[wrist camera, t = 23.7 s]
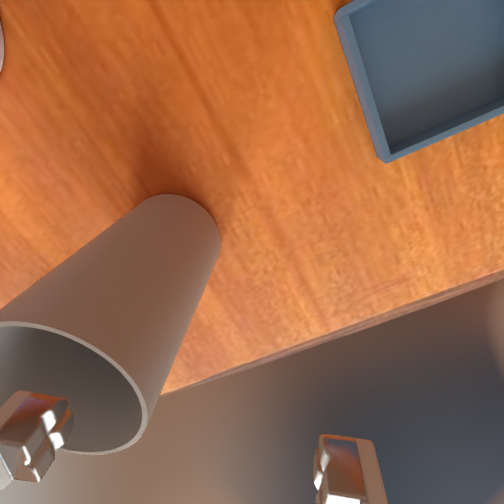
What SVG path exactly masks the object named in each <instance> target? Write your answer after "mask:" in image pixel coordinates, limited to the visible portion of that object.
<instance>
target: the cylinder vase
mask: <svg viewBox="0 0 504 504" xmlns="http://www.w3.org/2000/svg"><path fill="white" fill-rule="evenodd" d="M220 246H221V240H220V234H219V230H218V228H217V225H216V223H215V221H214V220H213V218H212V217H211V215H210V214H209V213H208V212H207V211H206V210H205V209H204V208H203V207H202V206H201V205H199V204H198V203H196V202H195V201H193V200H191V199H189V198H186V197H184V196H180V195H175V194H160V195H156V196H152V197H150V198H148V199H146V200H144V201H143V202H141V203H140V204H139V205H137V206H136V207H135V208H133V209H132V210H131V211H130V212H128V213H127V214H126V215H124V216H123V217H122V218H120V219H119V220H118V221H116V222H115V223H114V224H112V225H111V226H110V227H108V228H107V229H106V230H104V231H103V232H102V233H100V234H99V235H98V236H97V237H95V238H94V239H93V240H91V241H90V242H89V243H87V244H86V245H85V246H83V247H82V248H81V249H79V250H78V251H77V252H75V253H74V254H73V255H71V256H70V257H69V258H67V259H66V260H65V261H64V262H62V263H61V264H60V265H58V266H57V267H56V268H54V269H53V270H52V271H50V272H49V273H48V274H46V275H45V276H44V277H42V278H41V279H40V280H38V281H37V282H36V283H35V284H33V285H32V286H31V287H29V288H28V289H27V290H25V291H24V292H23V293H21V294H20V295H19V296H17V297H16V298H15V299H13V300H12V301H11V302H9V303H8V304H7V305H5V306H4V307H3V308H2V309H0V408H1V406H2V405H3V404H4V403H5V402H6V401H7V400H8V399H9V398H10V397H11V396H12V395H13V394H14V393H16V392H17V391H19V390H21V391H29V392H36V393H41V394H48V395H55V396H61V397H67V399H68V401H69V405H68V407H67V409H68V410H70V411H71V412H72V414H73V417H74V423H73V427H72V430H71V433H70V435H69V437H68V439H67V440H66V442H65V444H64V445H62V446H61V447H60V448H58V449H57V450H59V451H63V452H68V453H74V454H83V455H100V454H101V455H102V454H109V453H114V452H118V451H121V450H123V449H125V448H128V447H129V446H131V445H132V444H134V443H135V442H136V441H137V440H138V439H139V438H140V437H141V436H142V434H143V433H144V431H145V428H146V426H147V423H148V421H149V419H150V416H151V414H152V412H153V409H154V407H155V405H156V402H157V400H158V398H159V395H160V393H161V391H162V388H163V386H164V383H165V381H166V379H167V376H168V374H169V372H170V369H171V367H172V365H173V362H174V360H175V358H176V355H177V353H178V350H179V348H180V346H181V343H182V341H183V339H184V336H185V334H186V332H187V329H188V327H189V325H190V322H191V320H192V318H193V315H194V313H195V310H196V308H197V306H198V303H199V301H200V299H201V296H202V294H203V292H204V289H205V287H206V285H207V282H208V280H209V277H210V275H211V273H212V270H213V268H214V266H215V263H216V261H217V259H218V256H219V253H220Z"/></svg>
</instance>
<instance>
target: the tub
mask: <svg viewBox="0 0 504 504" xmlns="http://www.w3.org/2000/svg"><path fill="white" fill-rule="evenodd" d="M333 19H334V22H335V25H336V28H337V32H338V35H339V38H340V41H341V44H342V47H343V50H344V54H345V57H346V60H347V63H348V66H349V69H350V72H351V76H352V79H353V82H354V85H355V88H356V91H357V94H358V98H359V101H360V104H361V107H362V110H363V113H364V116H365V120H366V123H367V126H368V129H369V132H370V135H371V138H372V142H373V145H374V148H375V151H376V154H377V157H378V158H379V159H380V160H382V161H383V162H384V163H386V164H387V163H389V162H391V161H394V160H396V159H398V158H401V157H403V156H405V155H408V154H410V153H412V152H415V151H417V150H419V149H422V148H424V147H426V146H429V145H431V144H433V143H436V142H438V141H440V140H443V139H445V138H447V137H450V136H452V135H454V134H457V133H459V132H461V131H463V130H466V129H468V128H470V127H473V126H475V125H477V124H480V123H482V122H484V121H487V120H489V119H491V118H494V117H496V116H498V115H501V114H503V113H504V0H353V1H351V2H349V3H348V4H346V5H344V6H343V7H341V8H339V9H338V11H337V12H336V14H335V16H334V17H333Z"/></svg>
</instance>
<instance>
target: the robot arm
mask: <svg viewBox="0 0 504 504" xmlns="http://www.w3.org/2000/svg"><path fill="white" fill-rule="evenodd" d="M3 60H4V37H3V31H2V26H1V21H0V72H1V69H2V66H3ZM68 405H69V401H68V399H67V397H61V396H55V395H48V394H41V393H36V392H29V391H21V390H19V391H17V392H16V393H14V394H13V395H12V396H11V397H10V398H9V399H8V400H7V401H6V402H5V403H4V404H3V405H2V406H1V408H0V490H2V489H3V488H4V487H5V486H7V485H8V484H9V483H10V482H12V479H16V480H24V481H31V482H40V481H41V480H42V478H43V476H44V475H45V473H46V471H47V470H48V469H49V467H50V466H51V464H52V462H53V461H54V459H55V453H54V451H55V450H57V449H58V448H60V447H61V446H62V445H64V444H65V442H66V440H67V439H68V437H69V435H70V433H71V430H72V427H73V423H74V417H73V414H72V412H71V411H70V410H68V409H67V407H68ZM318 442H319V447H318V448H316V450H315V455H314V465H313V467H314V468H313V469H314V483H315V485H316V487H317V488H318V493H317V496H316V499H315V504H388V502H387V497H386V493H385V489H384V486H383V482H382V477H381V473H380V469H379V465H378V461H377V457H376V453H375V449H374V445H373V444H372V442H371V441H370V440H364V439H357V438H352V437H344V436H336V435H328V434H320V436H319V440H318Z"/></svg>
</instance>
